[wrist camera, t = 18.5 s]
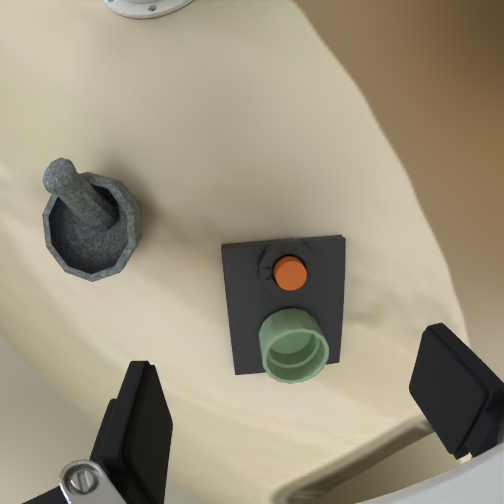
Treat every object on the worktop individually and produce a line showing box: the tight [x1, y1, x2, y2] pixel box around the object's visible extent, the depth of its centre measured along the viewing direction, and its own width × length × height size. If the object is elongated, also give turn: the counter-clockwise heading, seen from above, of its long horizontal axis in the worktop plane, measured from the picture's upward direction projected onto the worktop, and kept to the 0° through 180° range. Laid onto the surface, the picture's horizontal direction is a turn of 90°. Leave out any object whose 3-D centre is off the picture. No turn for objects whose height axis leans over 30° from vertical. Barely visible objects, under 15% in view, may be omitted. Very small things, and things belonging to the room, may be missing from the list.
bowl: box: [259, 308, 329, 383], centre depth 33 cm, size 7×7×5 cm
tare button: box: [274, 256, 307, 291], centre depth 31 cm, size 3×3×2 cm
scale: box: [221, 235, 346, 375], centre depth 35 cm, size 16×13×3 cm
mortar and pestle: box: [42, 158, 142, 282], centre depth 26 cm, size 11×9×12 cm
